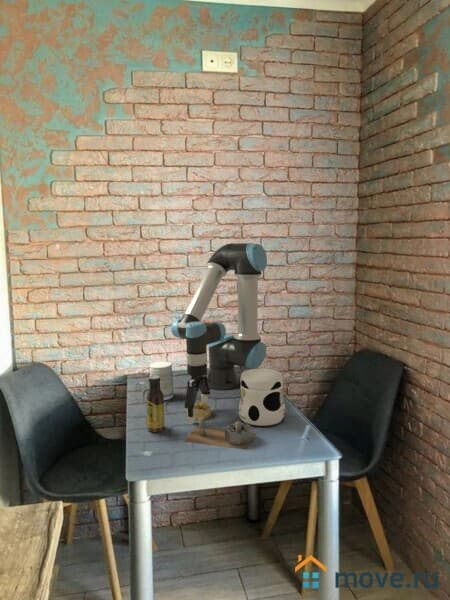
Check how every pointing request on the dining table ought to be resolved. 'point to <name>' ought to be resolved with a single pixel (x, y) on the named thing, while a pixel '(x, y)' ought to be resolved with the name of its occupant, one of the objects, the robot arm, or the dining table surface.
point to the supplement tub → (164, 377)
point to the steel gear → (238, 434)
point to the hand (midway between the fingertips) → (198, 417)
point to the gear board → (213, 435)
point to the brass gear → (201, 411)
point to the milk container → (261, 397)
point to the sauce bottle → (155, 405)
